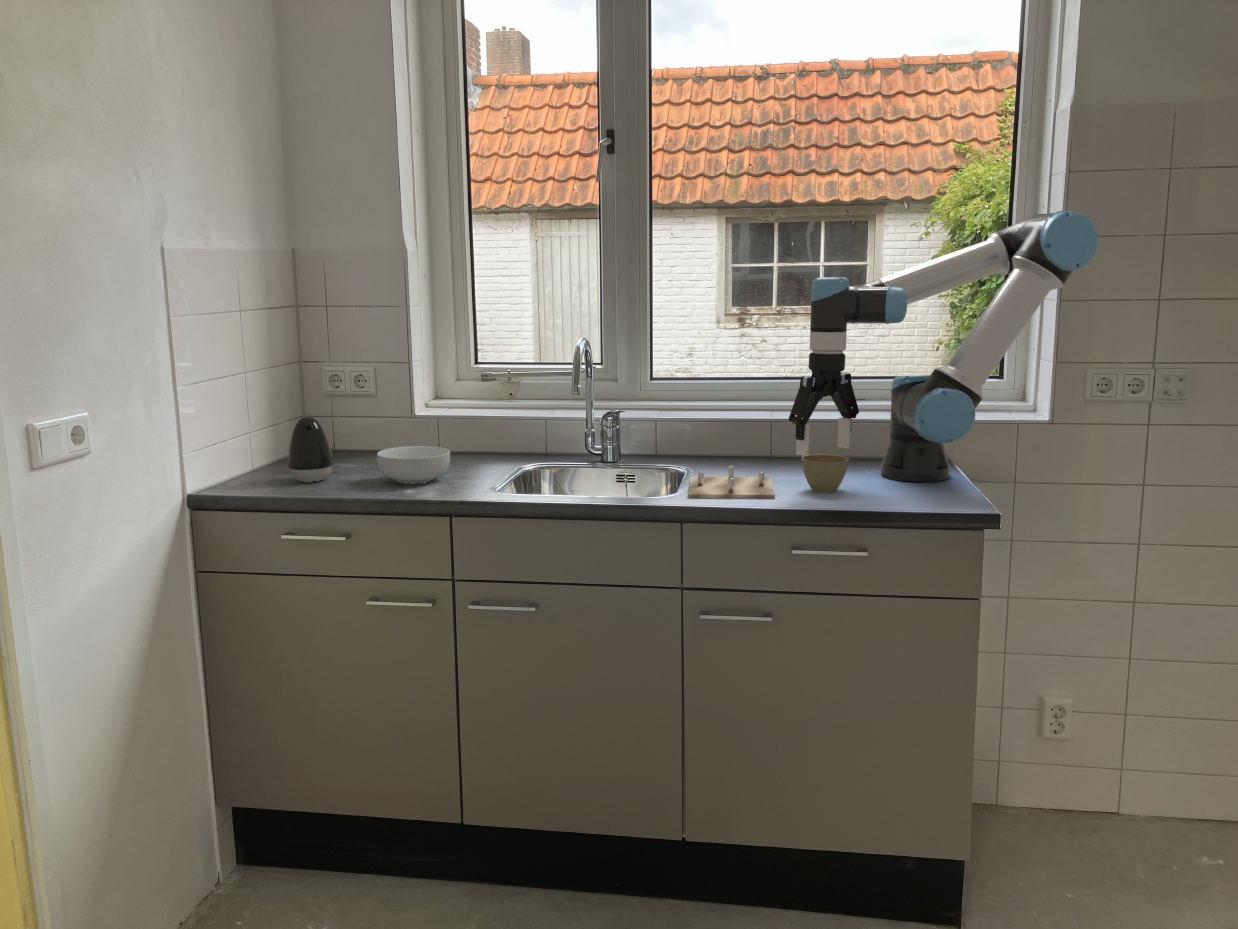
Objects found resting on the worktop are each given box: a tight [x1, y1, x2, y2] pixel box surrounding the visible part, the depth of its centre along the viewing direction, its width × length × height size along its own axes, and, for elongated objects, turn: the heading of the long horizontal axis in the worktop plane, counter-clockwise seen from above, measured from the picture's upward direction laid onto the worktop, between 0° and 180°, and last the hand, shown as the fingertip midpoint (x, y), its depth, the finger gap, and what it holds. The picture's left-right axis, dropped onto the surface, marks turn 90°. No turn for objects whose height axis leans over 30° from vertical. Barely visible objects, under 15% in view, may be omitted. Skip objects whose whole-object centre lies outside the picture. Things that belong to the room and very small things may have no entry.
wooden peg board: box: [687, 465, 776, 500], centre depth 219 cm, size 18×18×4 cm
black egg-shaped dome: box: [287, 416, 334, 482], centre depth 235 cm, size 10×10×15 cm
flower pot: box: [801, 453, 850, 494], centre depth 216 cm, size 10×10×7 cm
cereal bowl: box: [376, 445, 451, 484], centre depth 233 cm, size 17×17×7 cm
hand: (823, 451), depth 215 cm, fingers open, 13 cm apart
